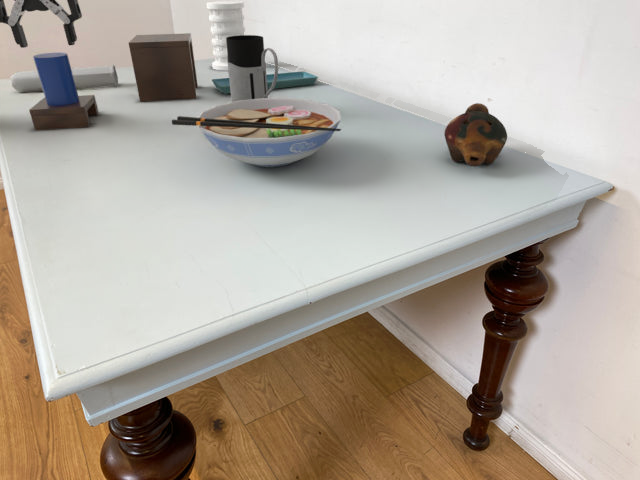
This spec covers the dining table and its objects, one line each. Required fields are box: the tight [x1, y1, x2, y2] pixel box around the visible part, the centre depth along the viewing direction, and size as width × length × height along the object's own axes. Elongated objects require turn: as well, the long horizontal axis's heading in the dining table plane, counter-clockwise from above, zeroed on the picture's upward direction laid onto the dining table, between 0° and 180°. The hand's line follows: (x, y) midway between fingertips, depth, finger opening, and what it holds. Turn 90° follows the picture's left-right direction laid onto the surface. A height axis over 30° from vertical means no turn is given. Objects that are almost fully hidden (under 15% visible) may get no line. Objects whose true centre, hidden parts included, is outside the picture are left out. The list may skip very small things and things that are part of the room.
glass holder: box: [226, 34, 279, 103], centre depth 99 cm, size 9×14×15 cm, turn 44°
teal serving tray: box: [211, 70, 319, 95], centre depth 124 cm, size 26×9×2 cm, turn 116°
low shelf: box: [29, 94, 100, 131], centre depth 98 cm, size 10×10×4 cm
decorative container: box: [205, 0, 246, 72], centre depth 144 cm, size 12×12×18 cm
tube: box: [10, 64, 119, 93], centre depth 124 cm, size 5×5×25 cm
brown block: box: [128, 32, 199, 103], centre depth 116 cm, size 13×13×13 cm
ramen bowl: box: [171, 97, 342, 168], centre depth 77 cm, size 25×23×8 cm
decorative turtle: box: [444, 102, 508, 167], centre depth 77 cm, size 10×15×8 cm, turn 170°
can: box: [32, 52, 79, 106], centre depth 95 cm, size 6×6×9 cm
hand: (48, 45), depth 92 cm, fingers open, 8 cm apart
